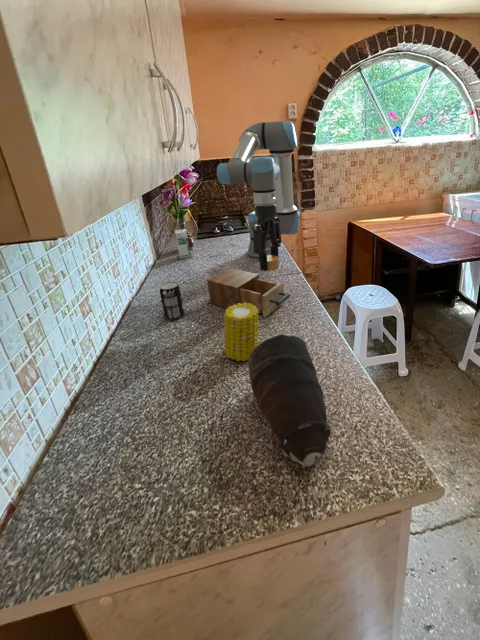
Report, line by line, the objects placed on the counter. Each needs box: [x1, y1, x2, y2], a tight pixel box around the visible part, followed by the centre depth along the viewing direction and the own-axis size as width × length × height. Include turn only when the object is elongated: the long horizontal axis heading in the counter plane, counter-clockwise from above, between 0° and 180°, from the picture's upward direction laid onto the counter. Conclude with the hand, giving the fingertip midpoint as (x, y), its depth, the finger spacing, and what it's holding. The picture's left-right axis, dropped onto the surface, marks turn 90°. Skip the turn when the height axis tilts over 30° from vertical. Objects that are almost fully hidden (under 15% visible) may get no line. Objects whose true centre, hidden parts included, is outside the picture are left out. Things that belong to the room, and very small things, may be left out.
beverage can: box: [159, 281, 185, 321], centre depth 108 cm, size 7×7×12 cm
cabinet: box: [206, 267, 260, 309], centre depth 117 cm, size 15×13×10 cm
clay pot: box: [247, 333, 332, 467], centre depth 64 cm, size 15×15×25 cm
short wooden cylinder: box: [267, 255, 280, 272], centre depth 113 cm, size 6×6×4 cm
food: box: [223, 302, 260, 362], centre depth 87 cm, size 15×12×10 cm
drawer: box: [239, 278, 291, 318], centre depth 110 cm, size 18×11×8 cm, turn 58°
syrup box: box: [174, 228, 192, 260], centre depth 166 cm, size 6×6×14 cm
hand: (269, 266), depth 114 cm, fingers closed on short wooden cylinder, 6 cm apart
